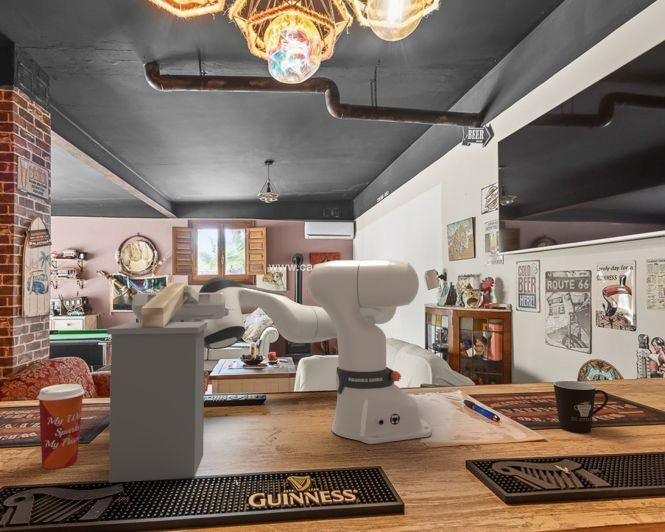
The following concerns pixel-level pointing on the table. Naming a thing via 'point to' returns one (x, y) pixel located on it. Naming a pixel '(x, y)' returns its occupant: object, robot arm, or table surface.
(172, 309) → the tan wooden bar
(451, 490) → the table surface
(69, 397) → the paper cup
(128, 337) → the tall grey block
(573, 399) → the coffee mug
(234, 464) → the table surface
